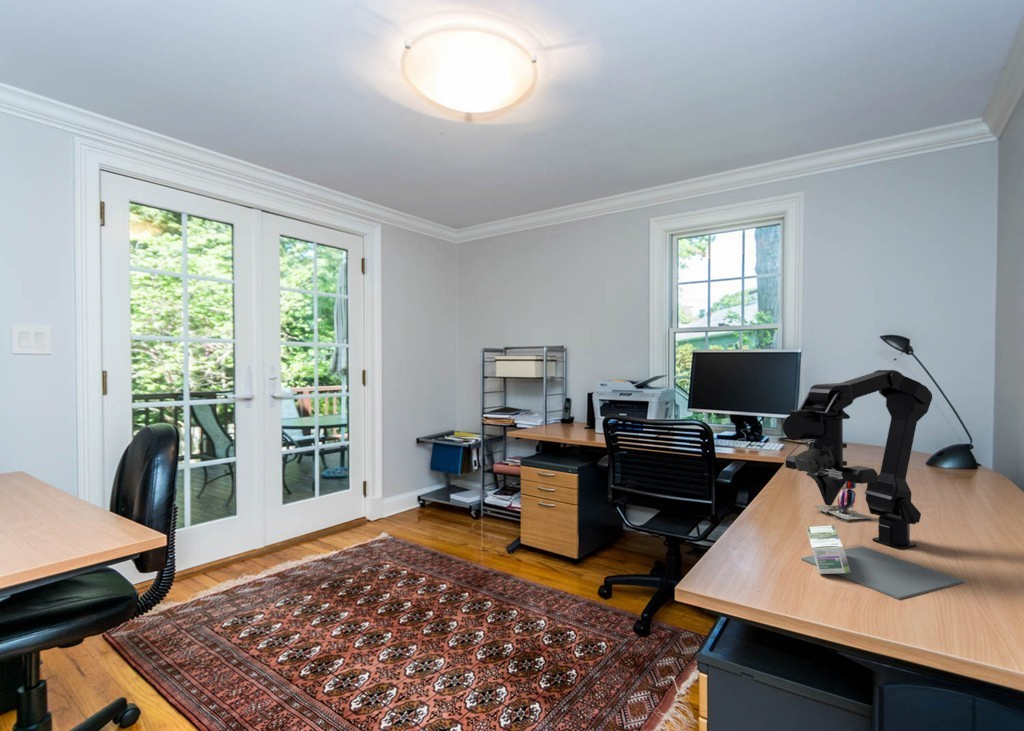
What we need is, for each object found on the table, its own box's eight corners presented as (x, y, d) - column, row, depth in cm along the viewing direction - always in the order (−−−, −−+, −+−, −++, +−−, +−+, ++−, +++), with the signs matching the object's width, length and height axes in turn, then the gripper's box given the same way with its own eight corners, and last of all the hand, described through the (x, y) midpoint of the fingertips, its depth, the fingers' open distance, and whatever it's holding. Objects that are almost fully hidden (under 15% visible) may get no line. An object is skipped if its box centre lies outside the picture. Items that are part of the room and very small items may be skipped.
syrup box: (812, 550, 113) (819, 576, 100) (805, 525, 114) (811, 547, 101) (840, 549, 111) (851, 575, 98) (833, 523, 111) (843, 545, 98)
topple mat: (862, 547, 116) (862, 545, 116) (964, 582, 97) (964, 580, 97) (801, 559, 109) (801, 558, 109) (898, 599, 90) (898, 597, 90)
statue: (872, 524, 136) (879, 473, 135) (844, 526, 134) (851, 474, 133) (838, 508, 147) (844, 460, 145) (812, 510, 145) (818, 461, 143)
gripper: (768, 435, 119) (768, 498, 119) (843, 446, 102) (843, 521, 102) (801, 432, 123) (802, 494, 123) (879, 443, 105) (879, 515, 105)
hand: (828, 505), depth 113 cm, fingers closed
